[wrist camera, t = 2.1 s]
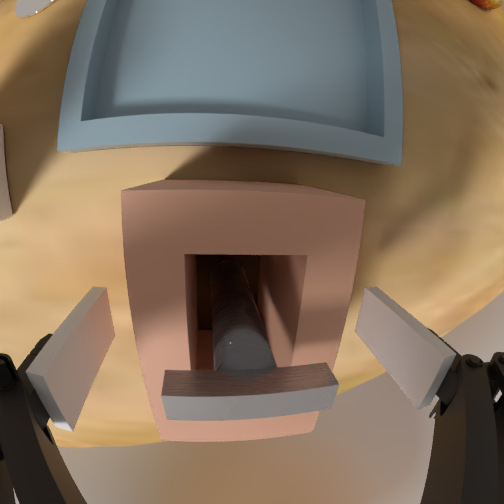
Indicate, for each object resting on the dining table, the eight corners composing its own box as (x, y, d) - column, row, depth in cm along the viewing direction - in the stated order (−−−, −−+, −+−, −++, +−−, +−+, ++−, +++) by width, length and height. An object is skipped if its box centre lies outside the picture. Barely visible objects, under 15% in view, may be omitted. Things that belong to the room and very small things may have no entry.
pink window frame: (277, 369, 20) (305, 449, 13) (174, 371, 19) (167, 457, 12) (297, 184, 16) (366, 200, 9) (163, 179, 15) (121, 190, 8)
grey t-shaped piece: (185, 292, 17) (169, 428, 7) (185, 259, 17) (158, 383, 7) (268, 292, 18) (327, 417, 8) (271, 260, 18) (343, 373, 8)
